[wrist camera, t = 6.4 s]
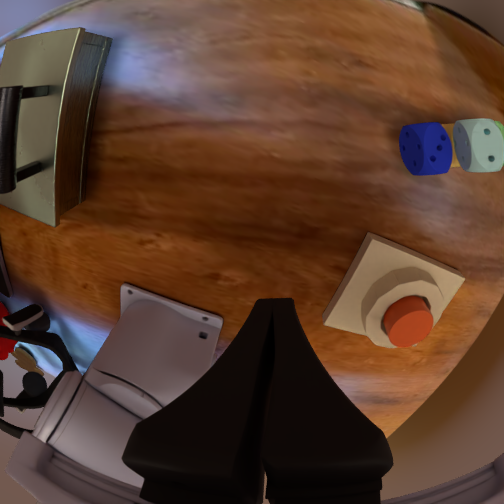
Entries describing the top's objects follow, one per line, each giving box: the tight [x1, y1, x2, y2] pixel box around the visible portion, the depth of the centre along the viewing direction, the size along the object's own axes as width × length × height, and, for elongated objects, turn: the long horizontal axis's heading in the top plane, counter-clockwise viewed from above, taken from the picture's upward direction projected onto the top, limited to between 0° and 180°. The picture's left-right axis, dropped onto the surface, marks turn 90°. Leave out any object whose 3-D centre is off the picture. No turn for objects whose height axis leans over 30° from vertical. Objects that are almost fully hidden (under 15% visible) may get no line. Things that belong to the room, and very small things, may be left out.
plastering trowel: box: [0, 27, 86, 227], centre depth 11 cm, size 8×13×4 cm, turn 163°
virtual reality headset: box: [0, 304, 79, 439], centre depth 21 cm, size 19×22×15 cm
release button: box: [383, 296, 433, 347], centre depth 18 cm, size 4×4×2 cm
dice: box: [399, 119, 504, 175], centre depth 12 cm, size 8×3×6 cm, turn 106°
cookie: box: [11, 347, 44, 376], centre depth 35 cm, size 8×1×10 cm
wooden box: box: [60, 32, 113, 216], centre depth 14 cm, size 8×13×4 cm, turn 163°
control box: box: [322, 232, 465, 348], centre depth 19 cm, size 10×8×3 cm
